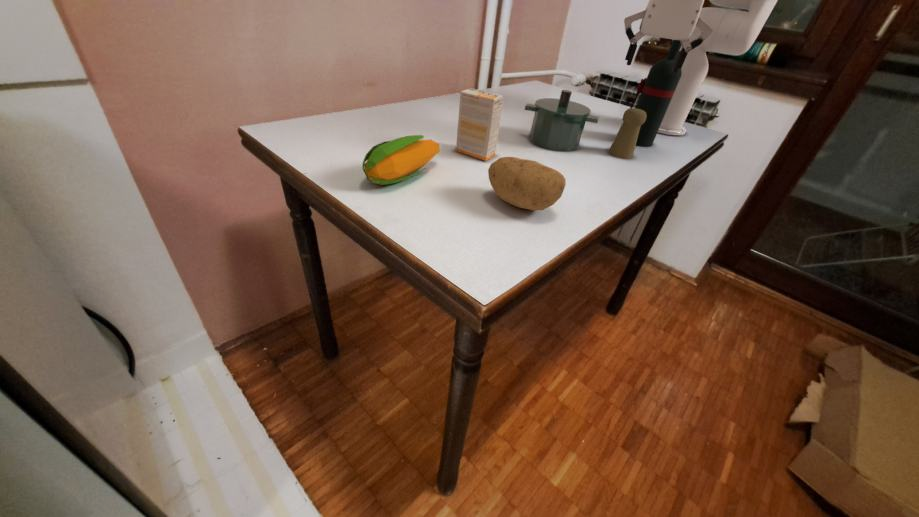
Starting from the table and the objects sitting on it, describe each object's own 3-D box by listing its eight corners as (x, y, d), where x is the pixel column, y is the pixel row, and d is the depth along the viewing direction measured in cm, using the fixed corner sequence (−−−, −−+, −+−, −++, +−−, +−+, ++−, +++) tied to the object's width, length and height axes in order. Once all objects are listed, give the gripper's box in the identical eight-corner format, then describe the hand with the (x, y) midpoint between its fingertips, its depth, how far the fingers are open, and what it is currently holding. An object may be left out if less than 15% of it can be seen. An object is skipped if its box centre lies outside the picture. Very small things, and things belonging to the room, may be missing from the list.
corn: (349, 142, 62) (425, 119, 75) (351, 182, 66) (421, 154, 80) (381, 159, 59) (453, 131, 72) (380, 199, 64) (448, 166, 77)
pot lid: (538, 99, 97) (542, 81, 94) (590, 109, 94) (596, 90, 91) (530, 112, 86) (534, 91, 84) (588, 123, 84) (594, 102, 81)
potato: (499, 183, 73) (506, 144, 68) (565, 208, 67) (578, 167, 62) (473, 200, 66) (478, 158, 61) (543, 229, 60) (555, 186, 55)
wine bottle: (620, 132, 107) (665, 10, 89) (655, 142, 103) (710, 16, 84) (611, 137, 102) (656, 9, 84) (647, 149, 98) (704, 16, 79)
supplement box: (495, 155, 84) (505, 95, 76) (485, 161, 80) (494, 99, 72) (465, 145, 87) (472, 87, 79) (454, 151, 84) (460, 90, 76)
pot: (524, 128, 102) (530, 96, 97) (589, 141, 98) (599, 108, 93) (515, 142, 92) (522, 107, 87) (587, 157, 89) (598, 122, 83)
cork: (634, 160, 90) (653, 114, 83) (609, 156, 91) (626, 110, 84) (630, 151, 95) (647, 108, 88) (606, 148, 95) (622, 104, 89)
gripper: (731, -23, 72) (689, 72, 82) (640, -34, 75) (610, 59, 85) (742, -26, 66) (695, 77, 76) (643, -37, 69) (611, 63, 79)
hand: (650, 68), depth 81 cm, fingers open, 9 cm apart
